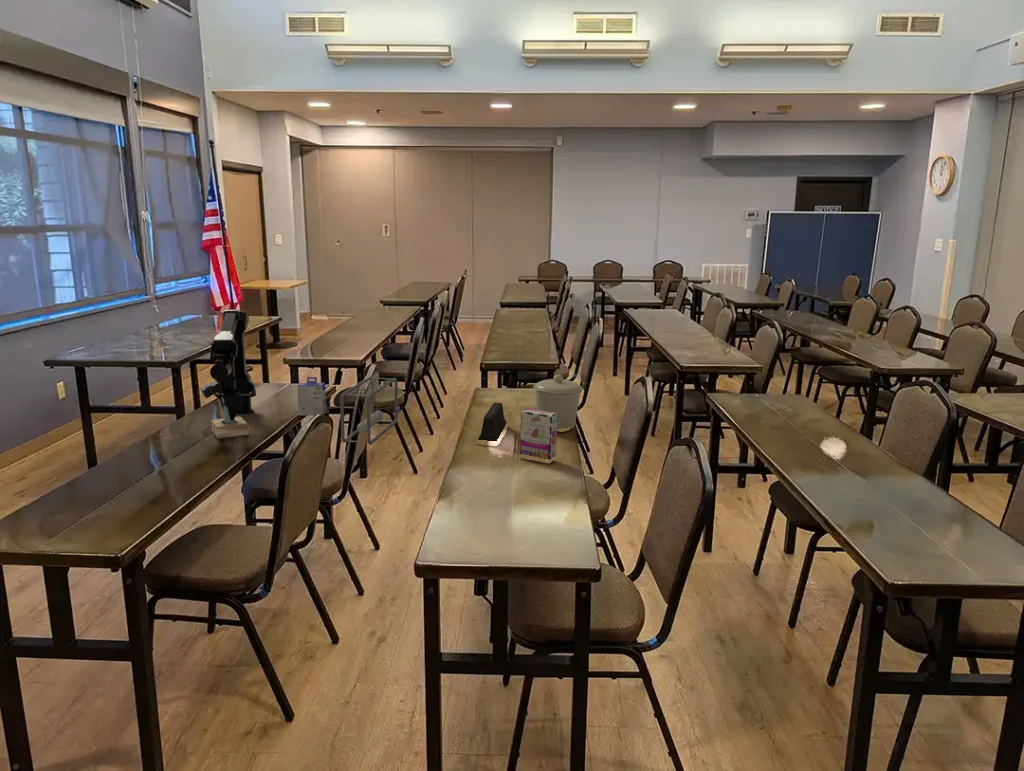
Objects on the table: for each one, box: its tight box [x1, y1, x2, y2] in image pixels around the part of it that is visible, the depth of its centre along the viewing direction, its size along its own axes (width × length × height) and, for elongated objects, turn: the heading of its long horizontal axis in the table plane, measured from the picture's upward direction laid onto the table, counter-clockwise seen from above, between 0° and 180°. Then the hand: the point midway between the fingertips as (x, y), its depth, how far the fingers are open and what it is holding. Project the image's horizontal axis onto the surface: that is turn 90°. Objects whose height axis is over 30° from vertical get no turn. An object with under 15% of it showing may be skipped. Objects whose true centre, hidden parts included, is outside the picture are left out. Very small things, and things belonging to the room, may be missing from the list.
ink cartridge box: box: [297, 376, 328, 417], centre depth 276 cm, size 10×6×14 cm, turn 92°
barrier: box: [477, 402, 508, 441], centre depth 257 cm, size 24×9×10 cm, turn 171°
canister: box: [533, 374, 583, 429], centre depth 265 cm, size 18×18×21 cm
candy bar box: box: [519, 408, 558, 460], centre depth 232 cm, size 11×5×16 cm, turn 62°
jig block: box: [210, 416, 249, 440], centre depth 252 cm, size 10×10×4 cm
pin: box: [223, 405, 235, 424], centre depth 251 cm, size 4×4×9 cm
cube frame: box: [339, 375, 399, 445], centre depth 255 cm, size 30×10×18 cm, turn 170°
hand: (228, 417), depth 251 cm, fingers open, 9 cm apart
